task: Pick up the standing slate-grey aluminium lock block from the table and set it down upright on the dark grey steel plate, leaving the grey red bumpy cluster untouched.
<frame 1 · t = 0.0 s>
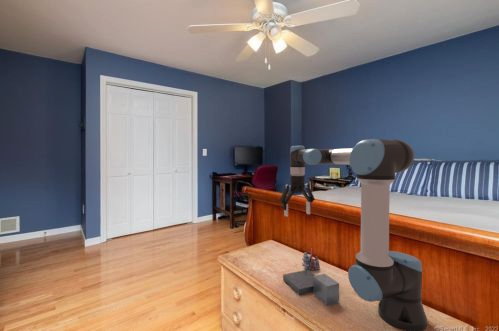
hand: (297, 215, 129), 28 cm above the dresser, fingers open, 13 cm apart
lock block: (325, 298, 101), on the dresser
grey red bumpy cluster: (310, 267, 130), on the dresser
steel plate: (303, 283, 113), on the dresser
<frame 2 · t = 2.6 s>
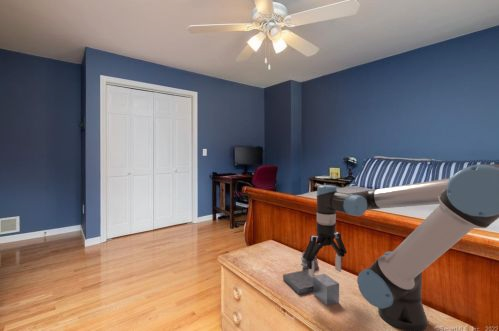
hand: (325, 273, 101), 10 cm above the dresser, fingers open, 13 cm apart
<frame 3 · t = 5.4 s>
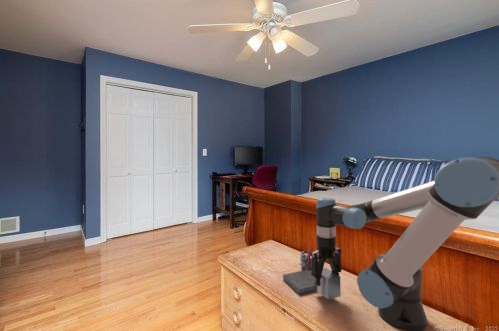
hand: (326, 291, 101), 3 cm above the dresser, fingers closed on lock block, 6 cm apart
lock block: (327, 292, 101), point 3 cm above the dresser, touching gripper
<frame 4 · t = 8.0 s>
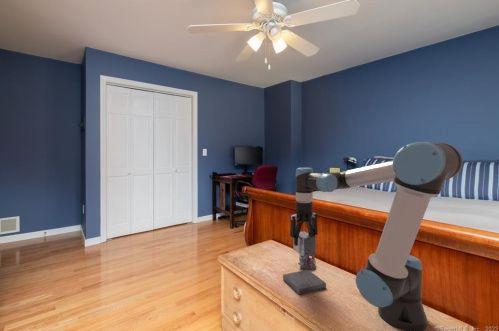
hand: (303, 251, 112), 15 cm above the dresser, fingers closed on lock block, 6 cm apart
lock block: (304, 251, 112), point 15 cm above the dresser, touching gripper
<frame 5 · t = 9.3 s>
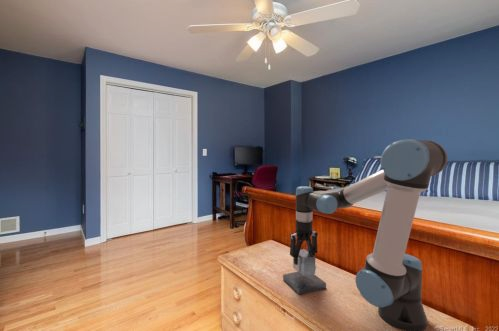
hand: (303, 269, 113), 7 cm above the dresser, fingers closed on lock block, 6 cm apart
lock block: (303, 270, 112), point 6 cm above the dresser, touching gripper
when the fingers open (4 cm above the dresser, at t = 10.7 s): lock block stays where it is, resting on steel plate.
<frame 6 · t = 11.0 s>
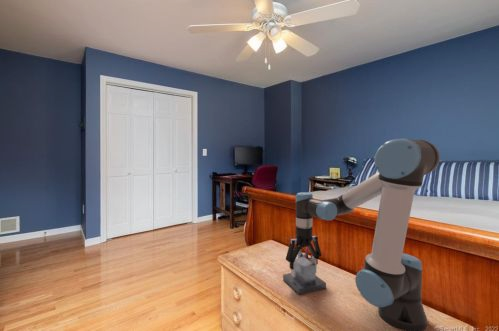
hand: (303, 273, 113), 5 cm above the dresser, fingers open, 10 cm apart
lock block: (304, 278, 112), point 2 cm above the dresser, touching steel plate
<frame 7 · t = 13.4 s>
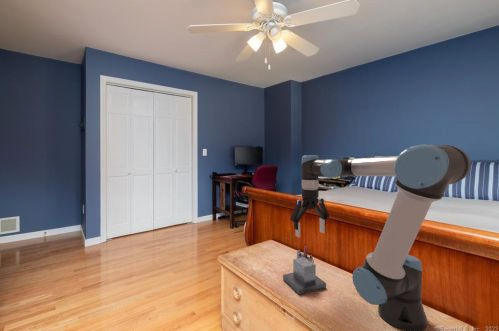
hand: (310, 234, 113), 23 cm above the dresser, fingers open, 13 cm apart
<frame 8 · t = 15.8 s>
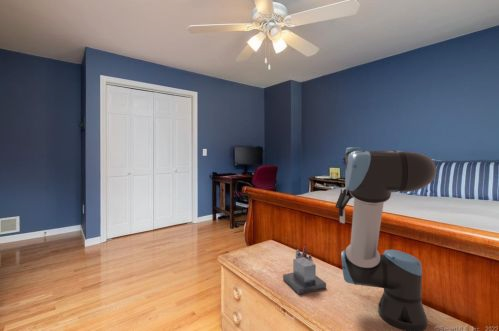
hand: (353, 221, 121), 27 cm above the dresser, fingers open, 13 cm apart
at the end: lock block inside the target area on the steel plate (0.2 cm from its centre), point 2.5 cm above the steel plate's base; lock block tilted 0°; the gripper is holding nothing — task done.
